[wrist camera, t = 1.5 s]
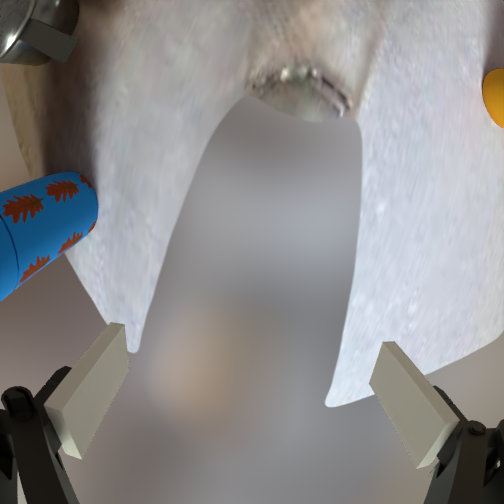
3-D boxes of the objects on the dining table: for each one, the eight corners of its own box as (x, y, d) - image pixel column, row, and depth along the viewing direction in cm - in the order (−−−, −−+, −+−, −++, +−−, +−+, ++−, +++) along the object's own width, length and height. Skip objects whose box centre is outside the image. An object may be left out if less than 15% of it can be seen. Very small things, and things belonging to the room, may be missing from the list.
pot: (51, -14, 23) (10, -28, 13) (139, 19, 27) (96, -7, 17) (11, 54, 28) (-34, 52, 18) (85, 104, 32) (31, 104, 22)
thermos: (111, 203, 38) (-27, 291, 15) (80, 252, 41) (-30, 346, 18) (65, 155, 35) (-78, 203, 12) (39, 207, 39) (-78, 274, 16)
